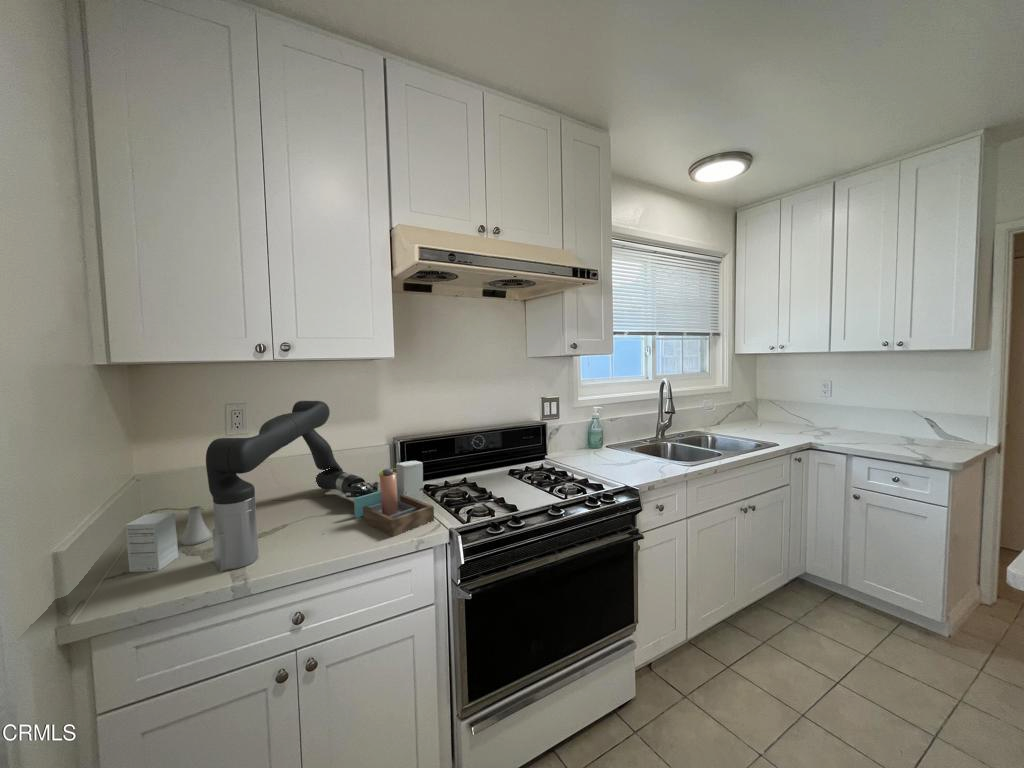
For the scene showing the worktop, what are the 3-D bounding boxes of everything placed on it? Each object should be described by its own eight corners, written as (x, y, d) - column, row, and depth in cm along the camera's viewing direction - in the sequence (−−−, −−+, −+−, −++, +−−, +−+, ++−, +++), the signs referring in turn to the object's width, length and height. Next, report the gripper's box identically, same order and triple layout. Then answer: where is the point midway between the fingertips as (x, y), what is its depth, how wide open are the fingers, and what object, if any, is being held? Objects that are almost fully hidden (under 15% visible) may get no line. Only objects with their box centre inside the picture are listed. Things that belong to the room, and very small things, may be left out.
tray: (379, 529, 131) (379, 509, 130) (354, 517, 141) (354, 498, 140) (421, 514, 143) (421, 495, 142) (396, 504, 153) (395, 486, 152)
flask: (195, 547, 121) (193, 513, 120) (174, 545, 122) (172, 511, 121) (217, 536, 128) (215, 504, 127) (197, 534, 129) (195, 502, 128)
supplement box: (150, 558, 114) (147, 513, 113) (179, 557, 115) (176, 512, 114) (127, 572, 107) (123, 524, 106) (158, 571, 107) (154, 523, 106)
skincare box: (403, 507, 150) (402, 466, 149) (395, 502, 155) (394, 463, 154) (424, 501, 156) (423, 462, 155) (416, 497, 160) (415, 459, 159)
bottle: (387, 518, 137) (385, 473, 136) (378, 514, 141) (376, 470, 139) (401, 513, 141) (399, 469, 140) (392, 509, 144) (390, 466, 143)
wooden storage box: (393, 536, 126) (392, 520, 126) (363, 521, 138) (362, 506, 137) (434, 521, 138) (433, 506, 137) (403, 508, 149) (403, 494, 149)
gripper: (332, 479, 152) (357, 489, 141) (366, 471, 162) (391, 479, 151) (333, 499, 153) (358, 510, 141) (366, 490, 163) (392, 500, 151)
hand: (375, 494), depth 146 cm, fingers closed
